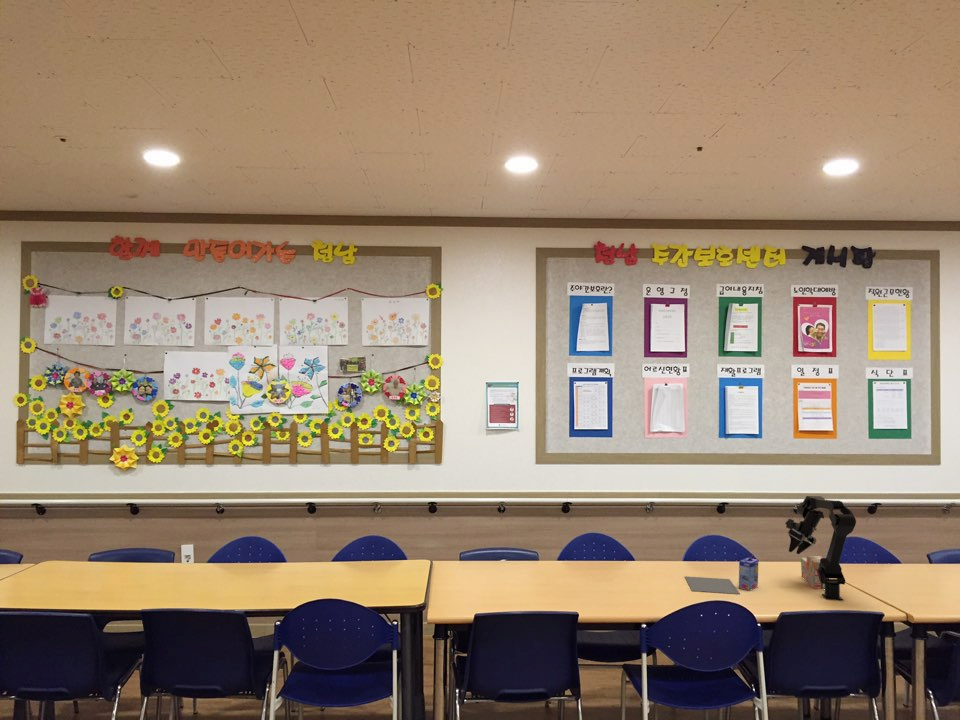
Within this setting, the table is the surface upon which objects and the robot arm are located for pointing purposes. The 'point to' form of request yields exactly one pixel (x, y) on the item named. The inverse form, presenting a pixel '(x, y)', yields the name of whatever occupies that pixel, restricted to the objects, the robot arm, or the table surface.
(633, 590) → the table surface
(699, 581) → the mat
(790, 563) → the table surface
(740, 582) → the ink cartridge box
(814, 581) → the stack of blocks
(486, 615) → the table surface
